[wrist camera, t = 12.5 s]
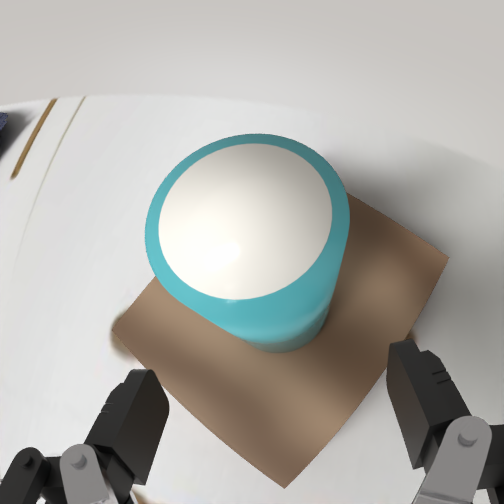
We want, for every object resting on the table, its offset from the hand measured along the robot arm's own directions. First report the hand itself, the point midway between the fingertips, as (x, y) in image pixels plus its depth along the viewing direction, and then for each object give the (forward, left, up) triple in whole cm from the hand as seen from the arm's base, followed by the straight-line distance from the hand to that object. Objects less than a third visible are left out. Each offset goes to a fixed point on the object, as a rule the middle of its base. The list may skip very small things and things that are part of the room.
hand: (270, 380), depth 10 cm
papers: (+13, -70, -12) cm, 72 cm away
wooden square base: (-3, -3, -11) cm, 12 cm away
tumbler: (-3, -3, -6) cm, 8 cm away
